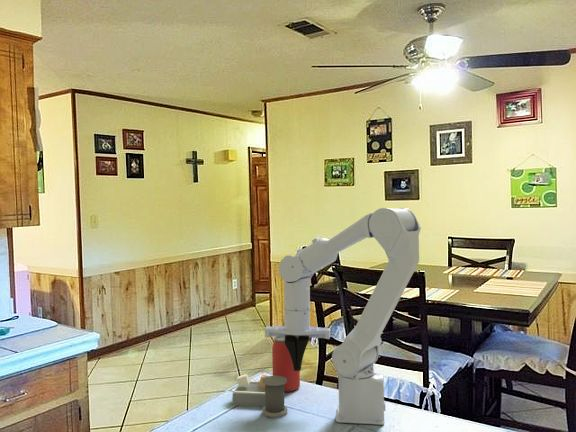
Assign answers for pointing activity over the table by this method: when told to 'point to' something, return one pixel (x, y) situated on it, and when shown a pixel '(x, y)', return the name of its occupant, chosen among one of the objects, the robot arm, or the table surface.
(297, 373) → the beer can
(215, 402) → the table surface
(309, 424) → the table surface
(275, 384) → the cord spool
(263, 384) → the orange cube
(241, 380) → the cream cube
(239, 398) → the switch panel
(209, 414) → the table surface
